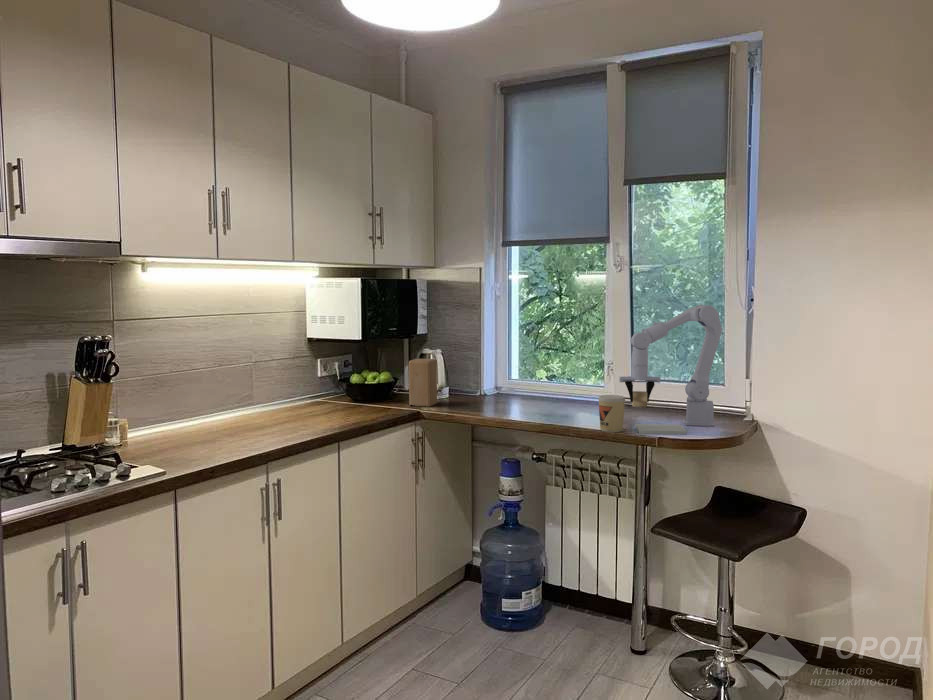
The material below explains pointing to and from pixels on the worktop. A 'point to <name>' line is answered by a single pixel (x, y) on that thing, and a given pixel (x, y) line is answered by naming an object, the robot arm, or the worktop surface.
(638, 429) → the gray board
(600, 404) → the coffee cup
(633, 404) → the maple cube
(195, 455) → the worktop surface
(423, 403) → the wooden block
